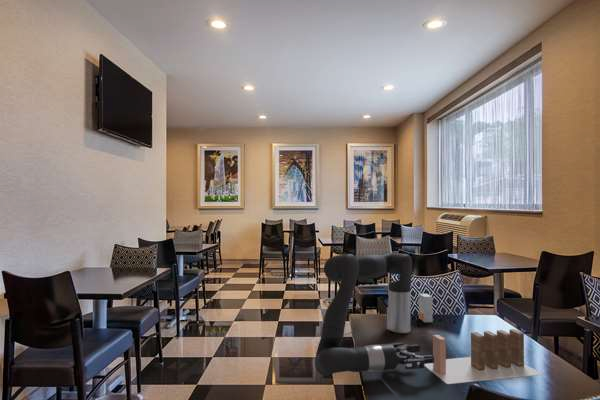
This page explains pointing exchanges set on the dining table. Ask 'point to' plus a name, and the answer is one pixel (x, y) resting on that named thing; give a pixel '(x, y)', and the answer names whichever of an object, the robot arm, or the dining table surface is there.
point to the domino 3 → (504, 348)
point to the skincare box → (425, 308)
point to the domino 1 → (477, 351)
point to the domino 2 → (491, 349)
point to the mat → (464, 372)
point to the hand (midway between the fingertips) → (426, 353)
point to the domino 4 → (517, 347)
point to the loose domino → (439, 354)
